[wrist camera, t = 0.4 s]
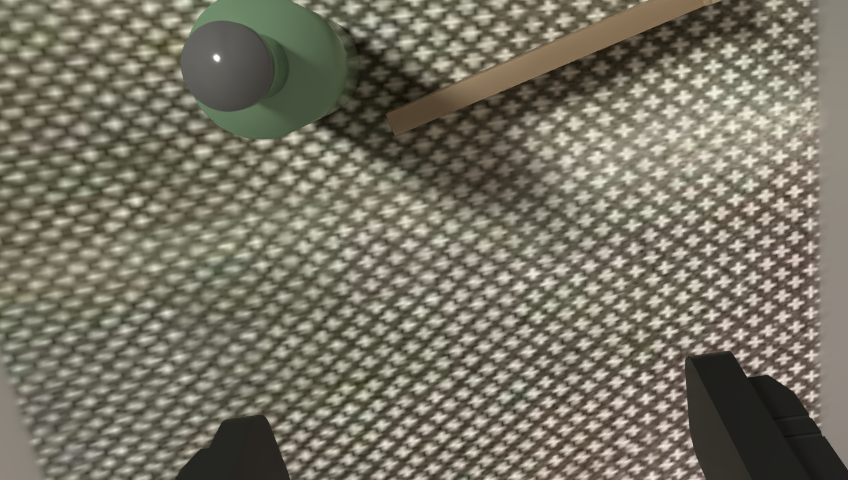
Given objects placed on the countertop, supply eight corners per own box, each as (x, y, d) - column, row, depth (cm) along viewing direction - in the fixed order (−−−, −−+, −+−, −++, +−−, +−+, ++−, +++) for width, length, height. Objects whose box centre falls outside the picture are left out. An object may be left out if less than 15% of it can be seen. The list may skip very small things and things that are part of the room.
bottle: (244, 39, 37) (108, 18, 21) (335, -2, 36) (264, -54, 21) (287, 132, 38) (188, 177, 22) (376, 94, 37) (338, 113, 22)
